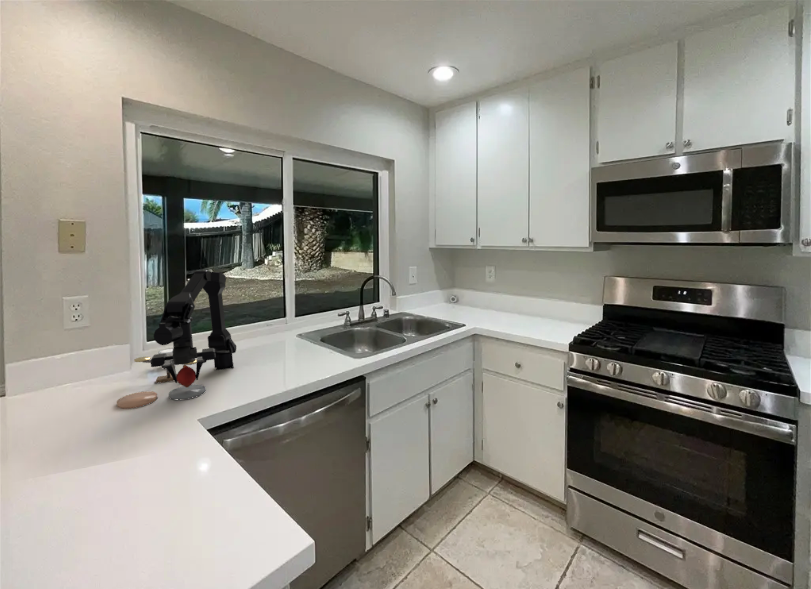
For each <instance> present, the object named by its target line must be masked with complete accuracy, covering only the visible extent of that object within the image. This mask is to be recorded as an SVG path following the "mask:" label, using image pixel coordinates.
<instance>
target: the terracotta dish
mask: <svg viewBox="0 0 811 589" xmlns="http://www.w3.org/2000/svg"><path fill="white" fill-rule="evenodd" d="M156 399H157V400H158V393H157V392H156V391H151V390H150V391H149V390H146V391H139V392H134V393H131V394H126V395H125V396H122V397H120V398H118V399H117V400H116V407H117V408H118V409H123V410H124V409H125V410H127V409H128V410H129V409H135V408H136V407H137V408H140V406H141V407H144V406H143V405H145V406H147V404H148V405H150V404H152V403H154V402H155V401H157V400H156ZM153 401H154V402H153ZM151 402H152V403H151ZM149 403H150V404H149ZM137 408H136V409H137Z"/></svg>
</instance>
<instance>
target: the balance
mask: <svg viewBox="0 0 811 589" xmlns="http://www.w3.org/2000/svg"><path fill="white" fill-rule="evenodd" d="M151 359H152V357H151V356H140V357H136V358H134V360H133V361H134V363H142V364H145V363H148V364H149V363H150V364H151ZM195 364H196V365H197V358H194V359H191V362H190V363H188V364H181V365H182V366H183V365H187V366H191V365H195ZM165 370H166V375H161V376H160V375H159V376H157V378H156V379H155V382H156V384H159V383H160V382H161V383H168V382H174V381H173V380H174V379H173V377H172V376H171V374H170V372H169V371H168V370H167V369H165ZM177 374H178V373H176V375H177ZM167 381H168V382H167ZM161 383H160V384H161Z"/></svg>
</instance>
